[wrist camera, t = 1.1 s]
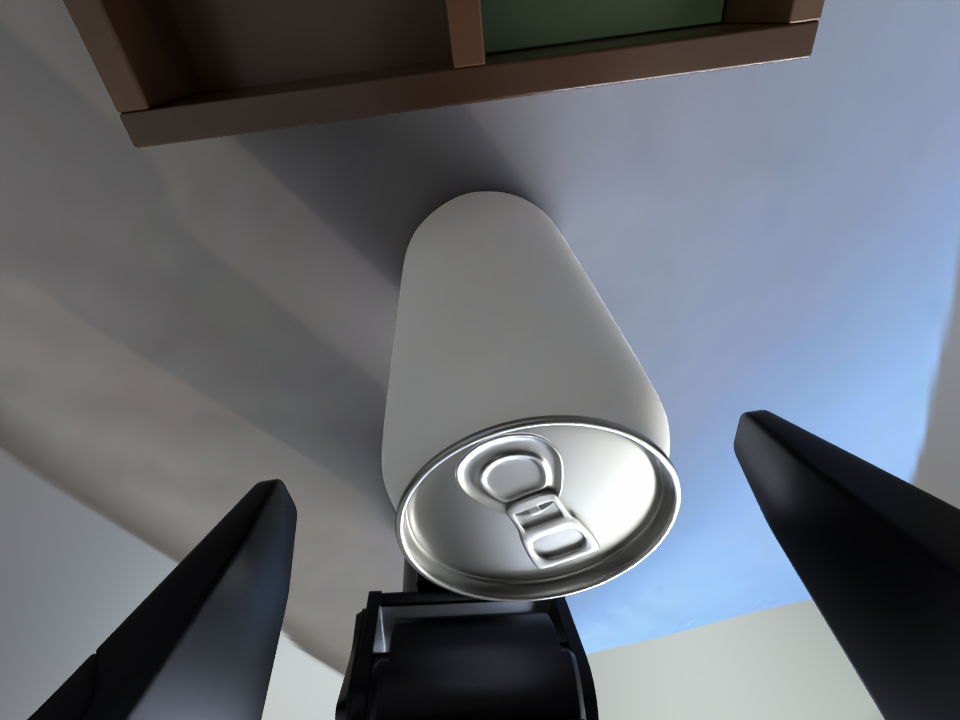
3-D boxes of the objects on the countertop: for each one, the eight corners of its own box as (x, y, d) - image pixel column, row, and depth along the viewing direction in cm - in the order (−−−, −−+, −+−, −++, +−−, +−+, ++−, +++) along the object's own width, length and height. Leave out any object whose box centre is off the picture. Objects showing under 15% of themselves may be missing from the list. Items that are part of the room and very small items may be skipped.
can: (527, 153, 17) (658, 336, 7) (587, 298, 20) (729, 554, 11) (370, 237, 18) (297, 491, 8) (452, 360, 22) (468, 640, 12)
